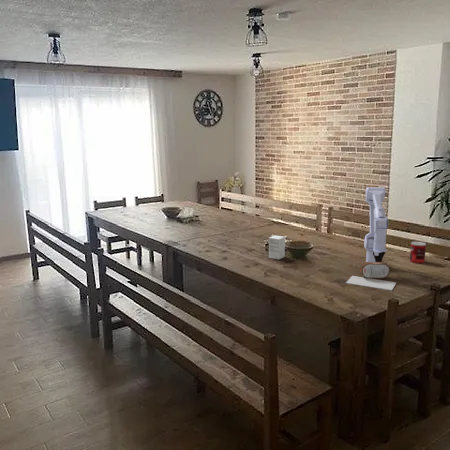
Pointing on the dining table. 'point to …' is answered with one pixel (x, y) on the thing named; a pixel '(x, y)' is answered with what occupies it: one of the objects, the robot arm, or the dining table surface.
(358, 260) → the dining table surface
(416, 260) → the canned food
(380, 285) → the mat
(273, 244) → the supplement box
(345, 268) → the dining table surface
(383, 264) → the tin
